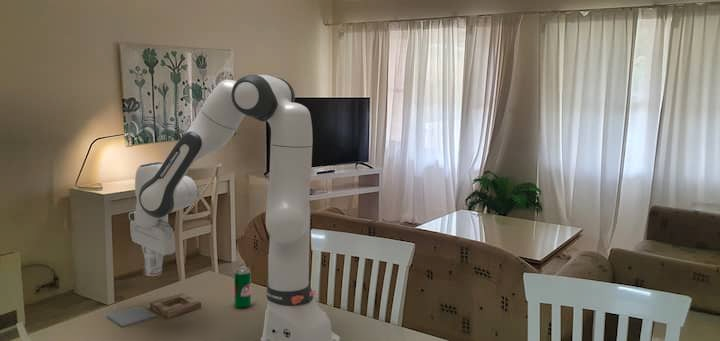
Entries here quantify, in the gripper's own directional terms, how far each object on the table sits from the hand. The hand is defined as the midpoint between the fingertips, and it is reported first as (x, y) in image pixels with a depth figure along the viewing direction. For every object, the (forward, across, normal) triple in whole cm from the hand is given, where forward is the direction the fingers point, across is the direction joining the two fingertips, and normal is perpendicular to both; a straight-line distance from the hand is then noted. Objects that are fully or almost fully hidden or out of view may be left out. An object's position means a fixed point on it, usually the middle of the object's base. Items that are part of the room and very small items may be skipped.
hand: (153, 262), depth 162 cm
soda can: (+15, -15, -22) cm, 30 cm away
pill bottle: (+4, 0, 0) cm, 4 cm away
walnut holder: (+15, -2, -6) cm, 17 cm away
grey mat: (+15, +1, +7) cm, 17 cm away
